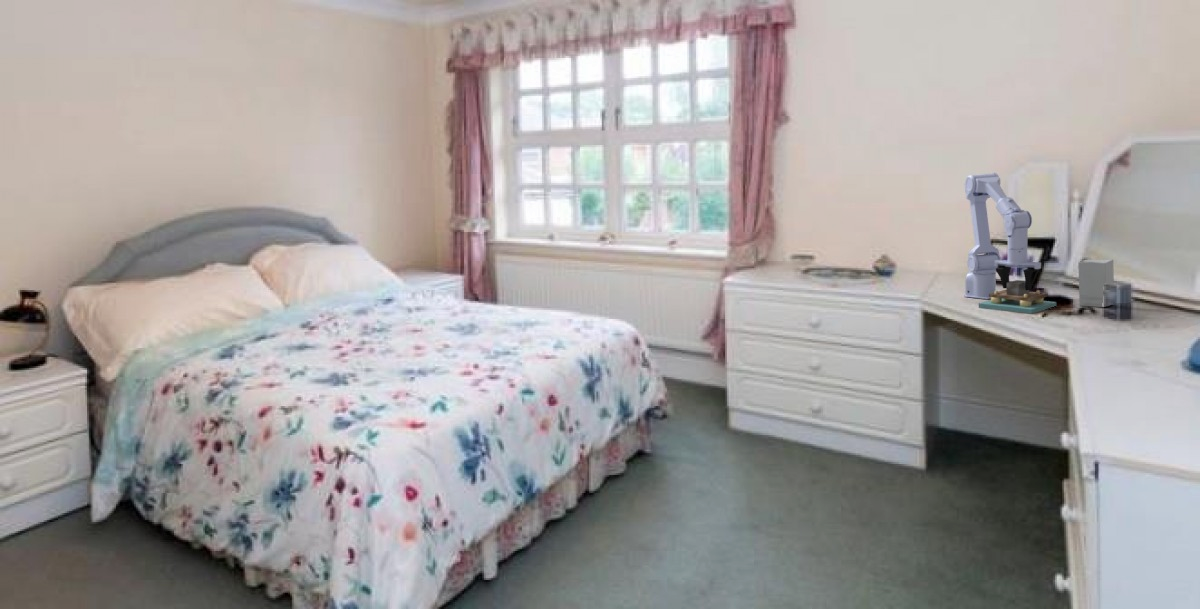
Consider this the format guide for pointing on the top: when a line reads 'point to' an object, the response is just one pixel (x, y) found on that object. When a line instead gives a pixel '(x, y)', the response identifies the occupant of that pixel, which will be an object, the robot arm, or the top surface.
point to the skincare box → (1094, 281)
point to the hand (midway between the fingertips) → (1016, 288)
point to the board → (1029, 296)
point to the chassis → (1017, 304)
